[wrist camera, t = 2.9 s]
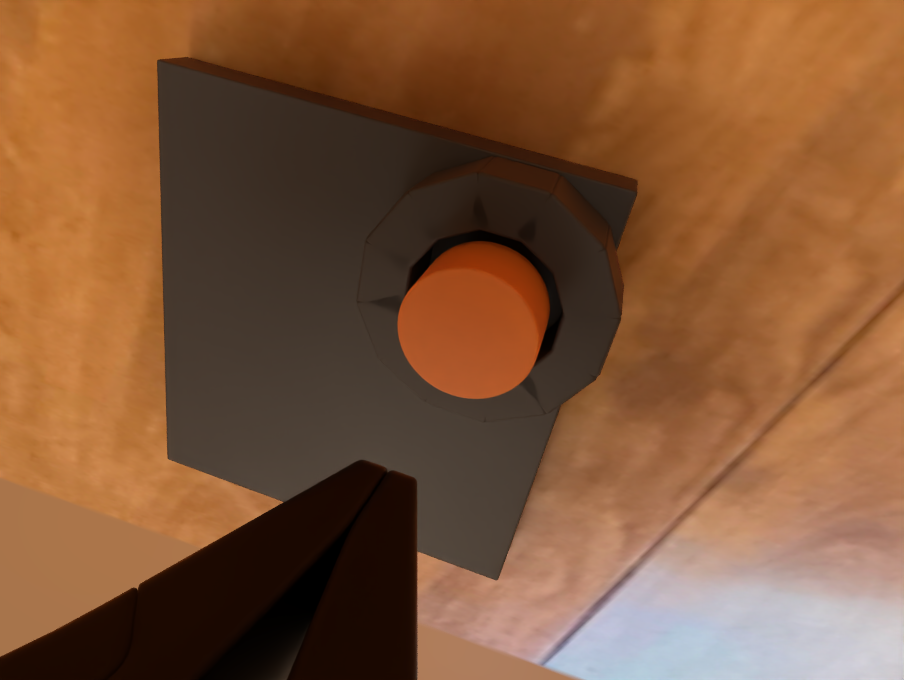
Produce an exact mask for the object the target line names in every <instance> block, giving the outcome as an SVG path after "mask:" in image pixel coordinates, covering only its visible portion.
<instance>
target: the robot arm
mask: <svg viewBox="0 0 904 680" xmlns="http://www.w3.org/2000/svg"><path fill="white" fill-rule="evenodd" d="M0 680H417V480H416V479H415V478H414V477H412V476H409V475H406V474H404V473H401V472H398V471H395V470H391V471H389V472H388V470H387V469H386V468H385V467H384V466H381V465H378V464H375V463H372V462H370V461H367V460H358V461H356V462H354V463H352V464H351V465H349V466H347V467H345V468H344V469H342V470H340V471H338V472H337V473H335V474H333V475H331V476H329V477H328V478H326V479H324V480H322V481H321V482H319V483H317V484H315V485H314V486H312V487H310V488H308V489H306V490H305V491H303V492H301V493H299V494H298V495H296V496H294V497H292V498H291V499H289V500H287V501H285V502H284V503H282V504H280V505H278V506H276V507H275V508H273V509H271V510H269V511H268V512H266V513H264V514H262V515H261V516H259V517H257V518H255V519H254V520H252V521H250V522H248V523H246V524H245V525H243V526H241V527H239V528H238V529H236V530H234V531H232V532H231V533H229V534H227V535H225V536H224V537H222V538H220V539H218V540H216V541H215V542H213V543H211V544H209V545H208V546H206V547H204V548H202V549H201V550H199V551H197V552H195V553H193V554H192V555H190V556H188V557H186V558H185V559H183V560H181V561H179V562H178V563H176V564H174V565H172V566H171V567H169V568H167V569H165V570H163V571H162V572H160V573H158V574H157V575H155V576H153V577H151V578H149V579H148V580H146V581H144V582H142V583H141V584H140V585H139V587H138V590H137V589H136V588H131V589H130V590H128V591H126V592H124V593H122V594H121V595H119V596H117V597H115V598H114V599H112V600H110V601H108V602H106V603H105V604H103V605H101V606H99V607H97V608H96V609H94V610H92V611H90V612H88V613H86V614H84V615H82V616H81V617H79V618H77V619H75V620H73V621H71V622H69V623H68V624H66V625H64V626H62V627H60V628H58V629H56V630H55V631H53V632H51V633H49V634H47V635H44V636H42V637H40V638H38V639H36V640H34V641H32V642H30V643H28V644H26V645H24V646H22V647H20V648H18V649H16V650H13V651H12V652H9V653H7V654H5V655H3V656H1V657H0Z"/></svg>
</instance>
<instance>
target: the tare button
mask: <svg viewBox="0 0 904 680" xmlns="http://www.w3.org/2000/svg"><path fill="white" fill-rule="evenodd" d="M549 315H550V300H549V295H548V291H547V288H546V285H545V283H544V281H543V279H542V277H541V275H540V274H539V272H538V271H537V269H536V268H535V267H534V266H533V265H532V263H531V262H530V261H529V260H527V259H526V258H525V257H524V256H523V255H521V254H520V253H518V252H517V251H515V250H513V249H511V248H509V247H507V246H504V245H501V244H498V243H493V242H486V241H472V242H466V243H462V244H459V245H456V246H454V247H452V248H450V249H448V250H447V251H445V252H443V253H442V254H441V255H440V256H439V257H438V258H436V260H435V261H434V262H433V263H432V264H431V265H430V267H429V268H428V269H427V270H426V271H425V272H424V273H423V275H422V276H421V277H420V278H419V279H418V280H417V282H416V283H415V284H414V285H413V286H412V287H411V289H410V290H409V291H408V292H407V294H406V296H405V297H404V299H403V301H402V304H401V306H400V310H399V314H398V322H397V324H398V336H399V341H400V344H401V348H402V350H403V352H404V355H405V357H406V358H407V360H408V362H409V363H410V365H411V366H412V367H413V369H414V370H415V371H416V372H417V373H418V374H419V375H420V376H421V377H422V378H423V379H424V380H425V381H427V382H428V383H429V384H431V385H432V386H434V387H435V388H437V389H439V390H441V391H443V392H445V393H448V394H450V395H454V396H457V397H462V398H468V399H484V398H490V397H495V396H498V395H501V394H504V393H506V392H508V391H510V390H512V389H513V388H515V387H516V386H517V385H519V384H520V383H521V382H522V381H523V380H524V379H525V378H526V377H527V375H528V374H529V373H530V371H531V370H532V368H533V366H534V364H535V362H536V359H537V356H538V353H539V350H540V347H541V343H542V340H543V337H544V334H545V331H546V327H547V324H548V320H549Z"/></svg>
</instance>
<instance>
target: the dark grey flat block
mask: <svg viewBox="0 0 904 680" xmlns="http://www.w3.org/2000/svg"><path fill="white" fill-rule="evenodd" d="M157 73H158V111H159V149H160V187H161V225H162V264H163V302H164V340H165V378H166V416H167V455H168V459H169V460H172V461H175V462H177V463H180V464H183V465H185V466H188V467H191V468H193V469H196V470H199V471H202V472H204V473H207V474H210V475H212V476H215V477H218V478H221V479H223V480H226V481H229V482H231V483H234V484H237V485H239V486H242V487H245V488H248V489H250V490H253V491H256V492H258V493H261V494H264V495H267V496H269V497H272V498H275V499H277V500H280V501H283V502H285V501H287V500H289V499H291V498H292V497H294V496H296V495H298V494H299V493H301V492H303V491H305V490H306V489H308V488H310V487H312V486H314V485H315V484H317V483H319V482H321V481H322V480H324V479H326V478H328V477H329V476H331V475H333V474H335V473H337V472H338V471H340V470H342V469H344V468H345V467H347V466H349V465H351V464H352V463H354V462H356V461H358V460H367V461H370V462H372V463H375V464H378V465H381V466H384V467H385V468H386V469H387V470H388V472H389V471H391V470H395V471H398V472H401V473H404V474H406V475H409V476H412V477H414V478H415V479H416V480H417V551H418V552H421V553H423V554H426V555H429V556H432V557H434V558H437V559H440V560H442V561H445V562H448V563H451V564H453V565H456V566H459V567H461V568H464V569H467V570H469V571H472V572H475V573H478V574H480V575H483V576H486V577H488V578H491V579H494V580H498V578H499V576H500V573H501V570H502V567H503V565H504V562H505V559H506V556H507V554H508V551H509V548H510V545H511V542H512V540H513V537H514V534H515V531H516V529H517V526H518V523H519V520H520V517H521V515H522V512H523V509H524V506H525V504H526V501H527V498H528V495H529V493H530V490H531V487H532V484H533V481H534V479H535V476H536V473H537V470H538V468H539V465H540V462H541V459H542V456H543V454H544V451H545V448H546V445H547V443H548V440H549V437H550V434H551V431H552V429H553V426H554V423H555V420H556V418H557V415H558V412H559V409H560V407H561V404H563V403H564V402H566V401H567V400H568V399H570V398H571V397H572V396H574V395H575V394H577V393H578V392H579V391H581V390H582V389H584V388H585V387H586V386H588V385H589V384H590V383H592V382H593V381H595V380H596V378H597V377H598V376H599V375H600V373H601V370H602V368H603V365H604V363H605V360H606V357H607V355H608V352H609V350H610V347H611V344H612V342H613V339H614V337H615V334H616V332H617V329H618V326H619V324H620V321H621V315H622V303H623V289H624V285H623V280H622V276H621V271H620V266H619V262H618V257H617V253H616V251H617V248H618V246H619V243H620V240H621V237H622V235H623V232H624V229H625V226H626V223H627V221H628V218H629V215H630V212H631V210H632V207H633V204H634V201H635V199H636V196H637V185H638V181H637V180H635V179H631V178H628V177H624V176H620V175H617V174H613V173H609V172H606V171H602V170H598V169H595V168H591V167H587V166H584V165H580V164H576V163H573V162H569V161H565V160H562V159H558V158H554V157H551V156H547V155H543V154H540V153H536V152H532V151H529V150H525V149H521V148H518V147H514V146H510V145H507V144H503V143H499V142H496V141H492V140H488V139H485V138H481V137H477V136H474V135H470V134H466V133H463V132H459V131H455V130H452V129H448V128H444V127H441V126H437V125H433V124H430V123H426V122H422V121H419V120H415V119H412V118H408V117H404V116H401V115H397V114H393V113H390V112H386V111H382V110H379V109H375V108H371V107H368V106H364V105H360V104H357V103H353V102H349V101H346V100H342V99H338V98H335V97H331V96H327V95H324V94H320V93H316V92H313V91H309V90H305V89H302V88H298V87H294V86H291V85H287V84H283V83H280V82H276V81H272V80H269V79H265V78H261V77H258V76H254V75H250V74H247V73H243V72H239V71H236V70H232V69H228V68H225V67H221V66H217V65H214V64H210V63H206V62H203V61H199V60H196V59H192V58H188V57H184V58H172V59H160V60H158V61H157ZM472 241H486V242H493V243H498V244H501V245H504V246H507V247H509V248H511V249H513V250H515V251H517V252H518V253H520V254H521V255H523V256H524V257H525V258H526V259H527V260H529V261H530V262H531V263H532V265H533V266H534V267H535V268H536V269H537V271H538V272H539V274H540V275H541V277H542V279H543V281H544V283H545V285H546V288H547V291H548V295H549V300H550V315H549V320H548V324H547V327H546V331H545V334H544V337H543V340H542V343H541V347H540V350H539V353H538V356H537V359H536V362H535V364H534V366H533V368H532V370H531V371H530V373H529V374H528V375H527V377H526V378H525V379H524V380H523V381H522V382H521V383H520V384H519V385H517V386H516V387H515V388H513V389H512V390H510V391H508V392H506V393H504V394H501V395H498V396H495V397H490V398H484V399H468V398H462V397H457V396H454V395H450V394H448V393H445V392H443V391H441V390H439V389H437V388H435V387H434V386H432V385H431V384H429V383H428V382H427V381H425V380H424V379H423V378H422V377H421V376H420V375H419V374H418V373H417V372H416V371H415V370H414V369H413V367H412V366H411V365H410V363H409V362H408V360H407V358H406V357H405V355H404V352H403V350H402V348H401V344H400V341H399V336H398V324H397V322H398V314H399V310H400V306H401V304H402V301H403V299H404V297H405V296H406V294H407V292H408V291H409V290H410V289H411V287H412V286H413V285H414V284H415V283H416V282H417V280H418V279H419V278H420V277H421V276H422V275H423V273H424V272H425V271H426V270H427V269H428V268H429V267H430V265H431V264H432V263H433V262H434V261H435V260H436V258H438V257H439V256H440V255H441V254H442V253H443V252H445V251H447V250H448V249H450V248H452V247H454V246H456V245H459V244H462V243H466V242H472Z"/></svg>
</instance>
